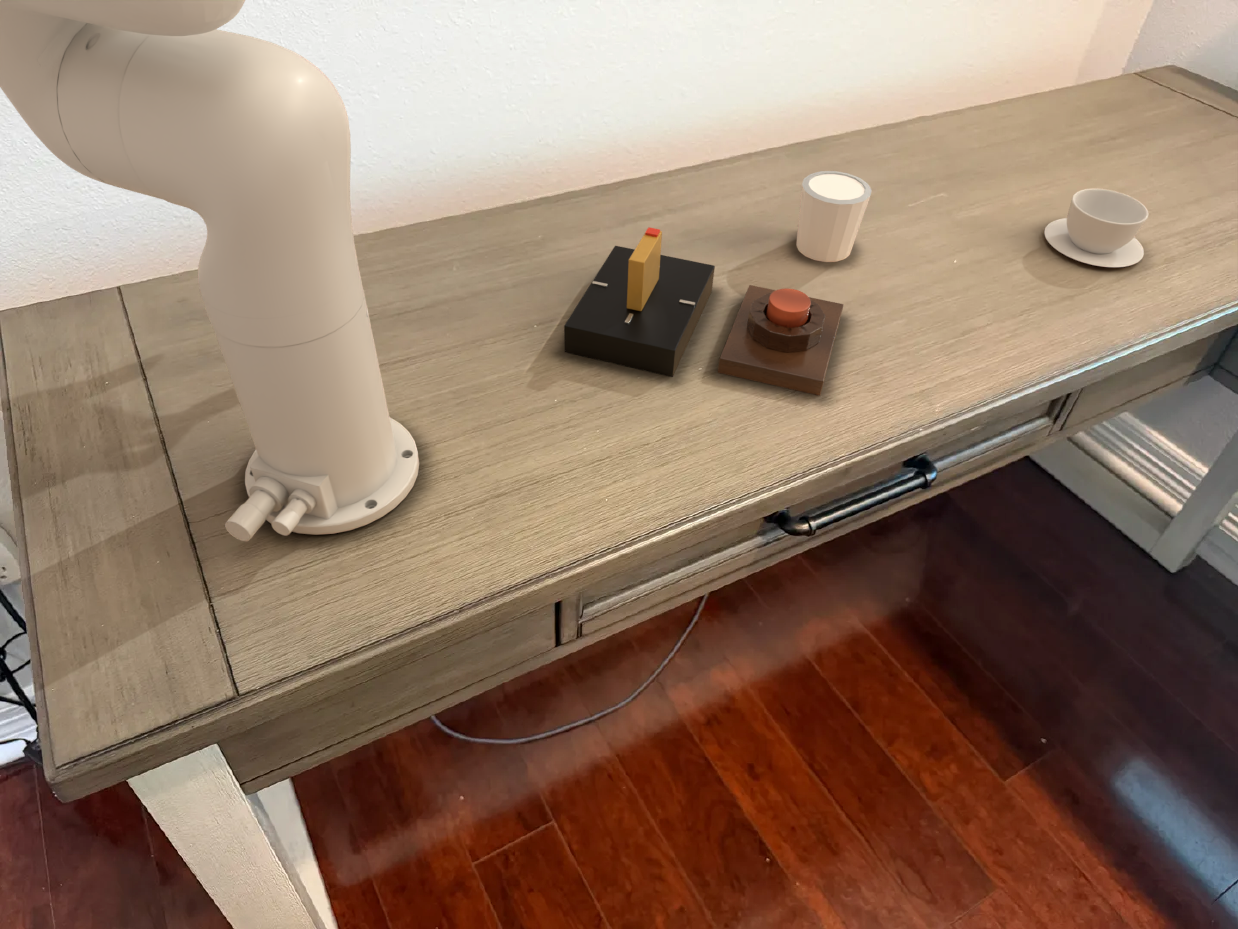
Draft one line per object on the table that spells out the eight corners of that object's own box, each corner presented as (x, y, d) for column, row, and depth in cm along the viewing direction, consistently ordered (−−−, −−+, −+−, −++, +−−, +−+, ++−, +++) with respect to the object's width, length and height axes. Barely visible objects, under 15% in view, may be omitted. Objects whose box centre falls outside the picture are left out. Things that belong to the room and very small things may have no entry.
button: (803, 332, 77) (807, 315, 76) (762, 323, 78) (765, 306, 77) (810, 309, 80) (814, 292, 78) (770, 301, 80) (773, 284, 79)
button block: (819, 396, 76) (827, 364, 73) (717, 373, 78) (721, 341, 75) (840, 318, 84) (848, 287, 82) (747, 299, 86) (751, 267, 83)
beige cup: (780, 254, 92) (792, 191, 87) (803, 224, 96) (815, 163, 91) (845, 273, 90) (860, 209, 85) (864, 242, 94) (880, 180, 89)
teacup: (1130, 282, 90) (1151, 241, 87) (1031, 250, 94) (1048, 209, 91) (1150, 240, 96) (1170, 200, 93) (1056, 212, 100) (1073, 172, 97)
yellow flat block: (641, 311, 79) (644, 260, 75) (626, 308, 79) (628, 256, 75) (658, 279, 82) (662, 228, 79) (644, 276, 83) (647, 225, 79)
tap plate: (672, 378, 77) (675, 348, 75) (564, 353, 79) (563, 324, 77) (711, 292, 87) (715, 263, 84) (614, 271, 89) (615, 243, 86)
